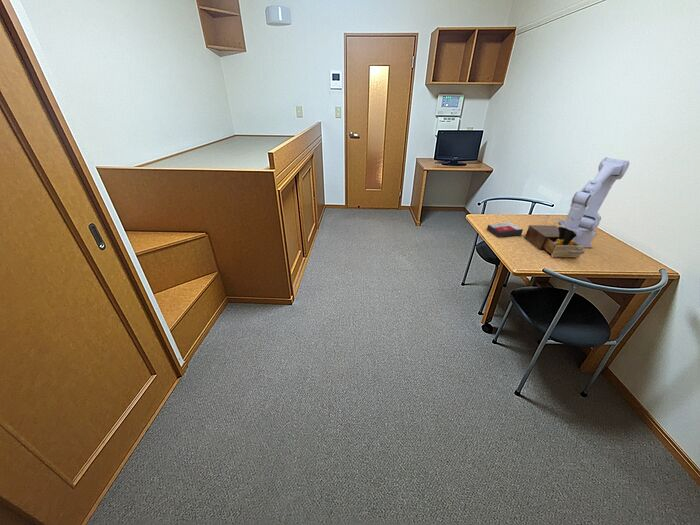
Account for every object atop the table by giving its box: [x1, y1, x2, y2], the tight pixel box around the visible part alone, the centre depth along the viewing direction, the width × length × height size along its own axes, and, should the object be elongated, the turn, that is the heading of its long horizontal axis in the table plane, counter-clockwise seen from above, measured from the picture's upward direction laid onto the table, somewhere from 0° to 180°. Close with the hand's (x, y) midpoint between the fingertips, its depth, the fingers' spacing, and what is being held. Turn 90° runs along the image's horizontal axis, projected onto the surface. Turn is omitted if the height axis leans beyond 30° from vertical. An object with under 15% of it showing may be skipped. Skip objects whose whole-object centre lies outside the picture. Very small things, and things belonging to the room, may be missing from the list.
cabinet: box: [524, 224, 559, 251], centre depth 155 cm, size 15×15×8 cm
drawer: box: [543, 238, 586, 258], centre depth 145 cm, size 18×13×6 cm
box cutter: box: [554, 239, 574, 245], centre depth 144 cm, size 9×3×3 cm, turn 92°
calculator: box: [486, 221, 524, 238], centre depth 167 cm, size 11×4×15 cm
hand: (562, 243), depth 145 cm, fingers closed on box cutter, 2 cm apart
